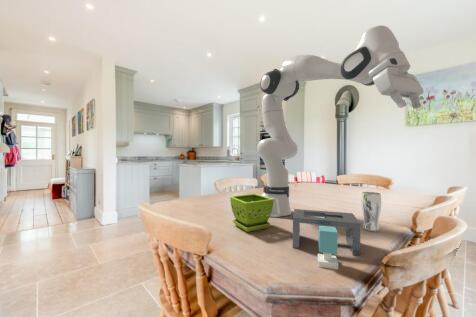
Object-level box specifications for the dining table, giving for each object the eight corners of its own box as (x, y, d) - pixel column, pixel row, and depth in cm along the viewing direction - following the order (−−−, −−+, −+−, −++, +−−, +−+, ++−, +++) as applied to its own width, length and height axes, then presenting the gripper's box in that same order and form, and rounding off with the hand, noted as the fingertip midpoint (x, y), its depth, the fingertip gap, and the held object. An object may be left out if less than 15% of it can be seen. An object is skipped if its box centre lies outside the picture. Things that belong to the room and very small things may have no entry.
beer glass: (382, 229, 91) (383, 193, 91) (378, 233, 86) (379, 195, 86) (364, 225, 96) (364, 191, 96) (359, 229, 91) (359, 193, 91)
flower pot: (229, 224, 96) (229, 196, 96) (255, 220, 103) (255, 193, 103) (245, 235, 84) (245, 202, 84) (274, 229, 91) (274, 198, 91)
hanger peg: (318, 266, 61) (318, 230, 60) (317, 258, 66) (317, 225, 65) (338, 269, 59) (338, 232, 59) (335, 260, 64) (336, 226, 64)
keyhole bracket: (292, 247, 73) (292, 217, 73) (294, 234, 84) (294, 209, 84) (360, 255, 67) (360, 223, 67) (352, 241, 79) (352, 213, 78)
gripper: (398, 79, 79) (415, 113, 75) (364, 72, 69) (382, 111, 65) (418, 67, 74) (437, 103, 70) (384, 58, 64) (405, 99, 60)
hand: (410, 107), depth 68 cm, fingers open, 8 cm apart
